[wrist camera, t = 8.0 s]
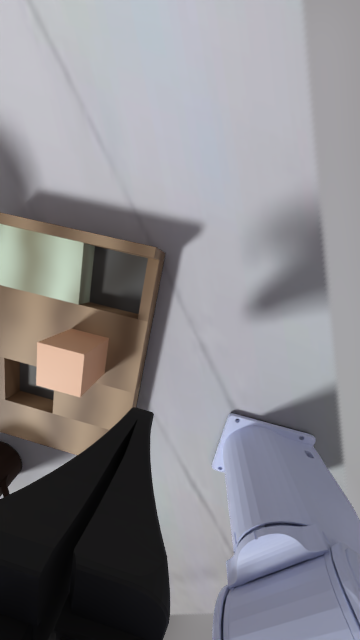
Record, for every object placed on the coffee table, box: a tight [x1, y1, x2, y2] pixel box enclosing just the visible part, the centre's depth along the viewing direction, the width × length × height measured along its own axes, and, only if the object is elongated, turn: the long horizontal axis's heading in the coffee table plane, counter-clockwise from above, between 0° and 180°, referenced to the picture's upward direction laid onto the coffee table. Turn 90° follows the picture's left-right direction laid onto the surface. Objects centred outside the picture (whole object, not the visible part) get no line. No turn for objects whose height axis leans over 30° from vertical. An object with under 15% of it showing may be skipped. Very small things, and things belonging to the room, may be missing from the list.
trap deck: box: [0, 213, 165, 455], centre depth 20 cm, size 16×25×4 cm, turn 168°
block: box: [36, 329, 109, 397], centre depth 17 cm, size 4×4×4 cm
